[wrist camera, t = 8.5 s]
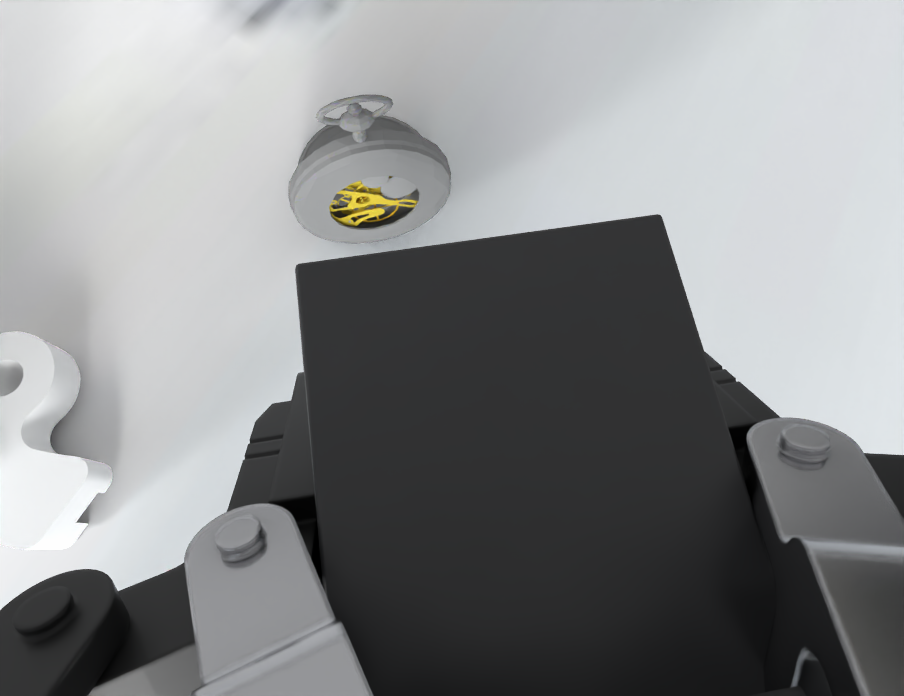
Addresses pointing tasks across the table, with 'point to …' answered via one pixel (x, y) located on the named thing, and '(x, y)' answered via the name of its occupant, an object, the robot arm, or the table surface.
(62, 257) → the table surface
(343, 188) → the pocket watch
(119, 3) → the table surface
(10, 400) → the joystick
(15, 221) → the table surface
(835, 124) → the table surface
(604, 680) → the dark grey rectangular block
